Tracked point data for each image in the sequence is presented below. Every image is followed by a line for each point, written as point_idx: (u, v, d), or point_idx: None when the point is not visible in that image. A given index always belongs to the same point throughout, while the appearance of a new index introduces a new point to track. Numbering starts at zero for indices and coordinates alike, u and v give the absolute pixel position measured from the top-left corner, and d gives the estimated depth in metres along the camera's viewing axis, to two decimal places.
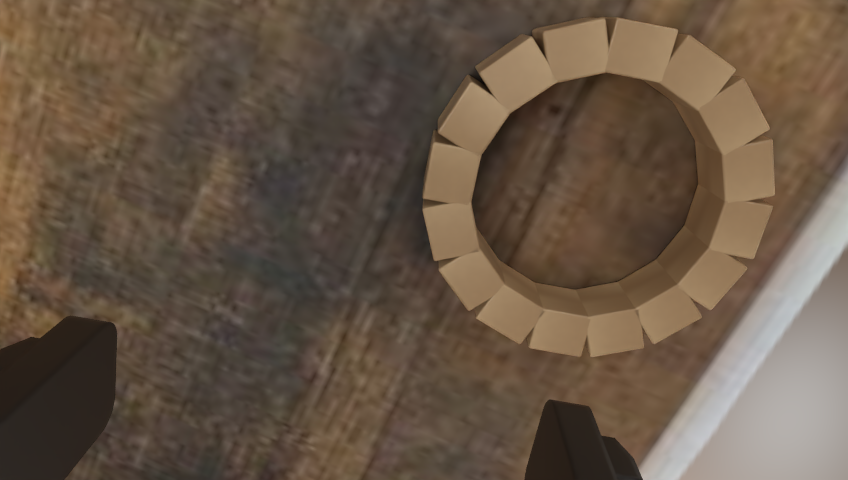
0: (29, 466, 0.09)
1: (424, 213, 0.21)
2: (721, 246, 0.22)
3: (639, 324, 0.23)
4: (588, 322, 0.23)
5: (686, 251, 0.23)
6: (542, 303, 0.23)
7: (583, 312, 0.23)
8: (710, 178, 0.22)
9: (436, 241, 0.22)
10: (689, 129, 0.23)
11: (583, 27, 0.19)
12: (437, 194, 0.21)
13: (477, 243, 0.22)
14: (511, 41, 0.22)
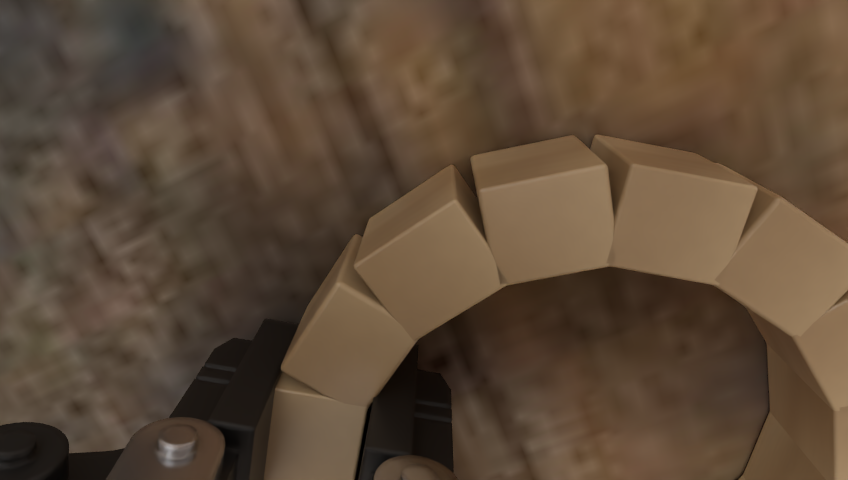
0: (264, 452, 0.11)
1: None
2: None
3: None
4: None
5: (804, 409, 0.12)
6: None
7: None
8: None
9: None
10: None
11: (322, 318, 0.10)
12: None
13: None
14: None
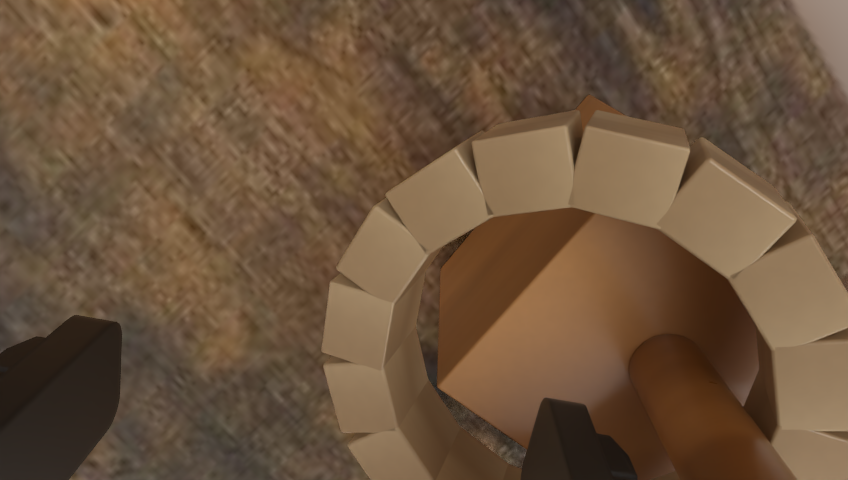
0: (34, 464, 0.10)
1: None
2: (789, 338, 0.12)
3: None
4: None
5: (765, 356, 0.13)
6: None
7: None
8: None
9: None
10: None
11: (364, 232, 0.14)
12: None
13: None
14: None
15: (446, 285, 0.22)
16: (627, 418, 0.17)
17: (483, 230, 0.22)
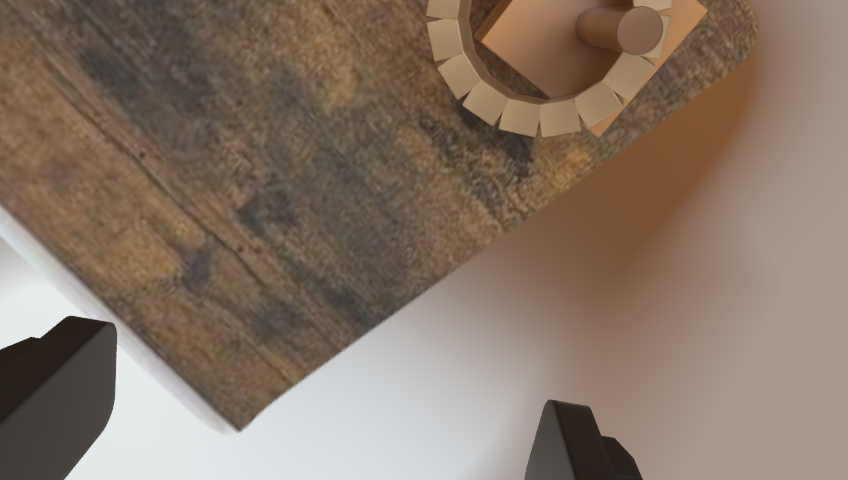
0: (28, 465, 0.09)
1: (465, 106, 0.33)
2: None
3: (636, 56, 0.30)
4: (605, 82, 0.31)
5: None
6: (574, 97, 0.32)
7: (600, 80, 0.31)
8: None
9: (483, 114, 0.33)
10: None
11: None
12: (461, 90, 0.33)
13: (504, 96, 0.32)
14: None
15: (478, 31, 0.38)
16: (575, 58, 0.33)
17: (499, 2, 0.39)
